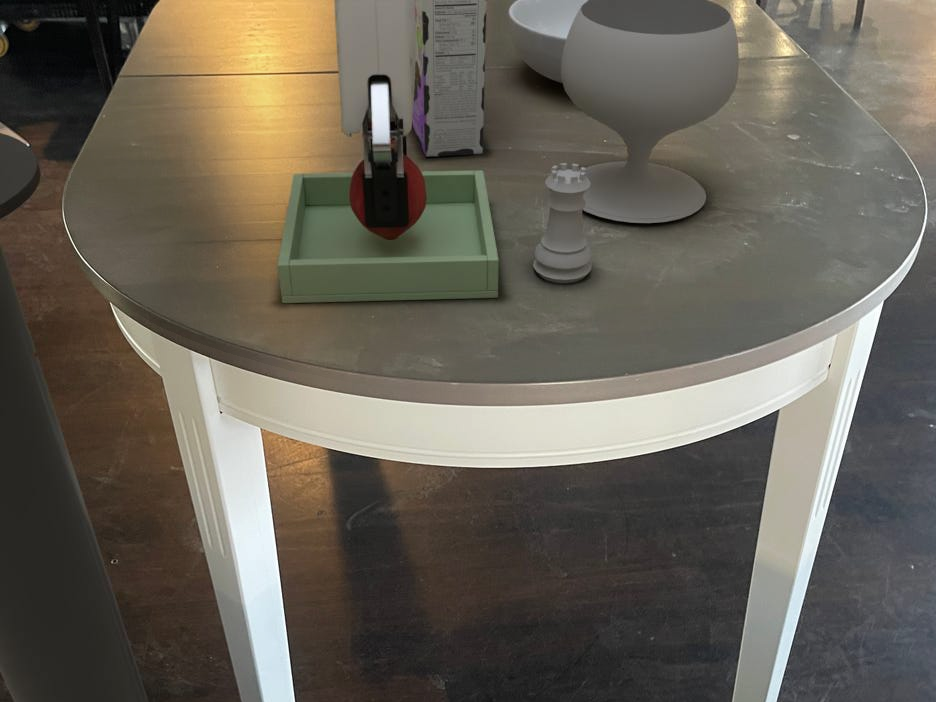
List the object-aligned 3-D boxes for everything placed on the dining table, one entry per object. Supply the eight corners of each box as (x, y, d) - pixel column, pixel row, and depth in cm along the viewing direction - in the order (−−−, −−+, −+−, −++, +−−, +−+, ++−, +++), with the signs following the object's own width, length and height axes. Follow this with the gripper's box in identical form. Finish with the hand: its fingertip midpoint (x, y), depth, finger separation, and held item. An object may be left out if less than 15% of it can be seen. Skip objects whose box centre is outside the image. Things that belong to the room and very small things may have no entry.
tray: (282, 303, 73) (277, 264, 71) (297, 208, 85) (293, 173, 83) (497, 298, 74) (498, 259, 72) (482, 205, 86) (483, 169, 84)
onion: (413, 261, 76) (409, 158, 71) (341, 251, 77) (332, 149, 72) (437, 228, 80) (435, 128, 75) (369, 218, 82) (362, 120, 76)
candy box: (401, 105, 104) (394, -74, 93) (458, 102, 105) (457, -76, 94) (423, 159, 93) (419, -37, 83) (486, 154, 94) (489, -39, 84)
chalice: (565, 235, 82) (579, 41, 72) (543, 165, 92) (552, -12, 83) (735, 230, 83) (771, 38, 73) (694, 161, 93) (720, -14, 84)
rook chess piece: (567, 291, 75) (575, 189, 70) (520, 272, 77) (524, 171, 72) (602, 269, 77) (612, 169, 72) (556, 251, 80) (562, 152, 74)
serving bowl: (733, 75, 112) (744, 9, 107) (627, 129, 99) (635, 56, 95) (580, 36, 122) (585, -26, 117) (467, 80, 110) (467, 13, 105)
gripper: (322, -84, 72) (342, 161, 83) (307, -20, 59) (333, 261, 70) (428, -85, 72) (433, 160, 84) (436, -21, 59) (441, 259, 71)
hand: (387, 203), depth 77 cm, fingers closed on onion, 5 cm apart
